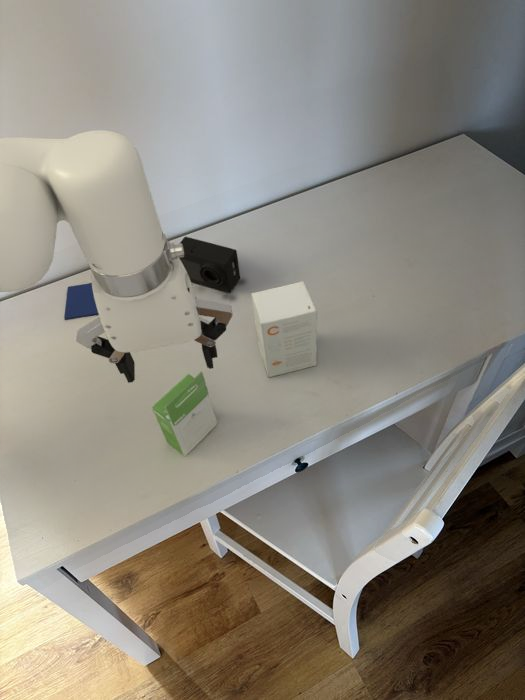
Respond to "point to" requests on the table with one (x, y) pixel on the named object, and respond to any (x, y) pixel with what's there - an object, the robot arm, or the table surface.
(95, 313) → the cloth
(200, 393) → the ink box
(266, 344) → the small box
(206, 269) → the digital camera
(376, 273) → the table surface
